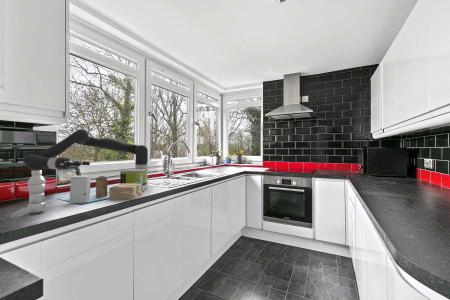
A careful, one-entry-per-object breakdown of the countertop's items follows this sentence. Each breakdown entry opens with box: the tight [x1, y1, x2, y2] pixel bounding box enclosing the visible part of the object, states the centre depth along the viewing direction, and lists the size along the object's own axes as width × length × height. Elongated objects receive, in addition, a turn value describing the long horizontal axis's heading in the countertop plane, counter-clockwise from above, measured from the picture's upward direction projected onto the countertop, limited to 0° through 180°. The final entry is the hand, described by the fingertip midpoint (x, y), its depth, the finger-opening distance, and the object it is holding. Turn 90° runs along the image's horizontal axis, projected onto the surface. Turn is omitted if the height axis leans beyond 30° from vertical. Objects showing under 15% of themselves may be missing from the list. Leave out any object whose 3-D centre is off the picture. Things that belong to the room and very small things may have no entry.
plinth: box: [108, 183, 143, 200], centre depth 128 cm, size 14×14×7 cm
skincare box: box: [69, 175, 91, 204], centre depth 116 cm, size 8×6×15 cm
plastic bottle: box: [27, 169, 47, 214], centre depth 96 cm, size 6×7×20 cm
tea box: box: [119, 169, 147, 192], centre depth 148 cm, size 15×10×15 cm
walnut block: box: [95, 175, 108, 198], centre depth 129 cm, size 4×4×13 cm
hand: (85, 164), depth 128 cm, fingers open, 8 cm apart
